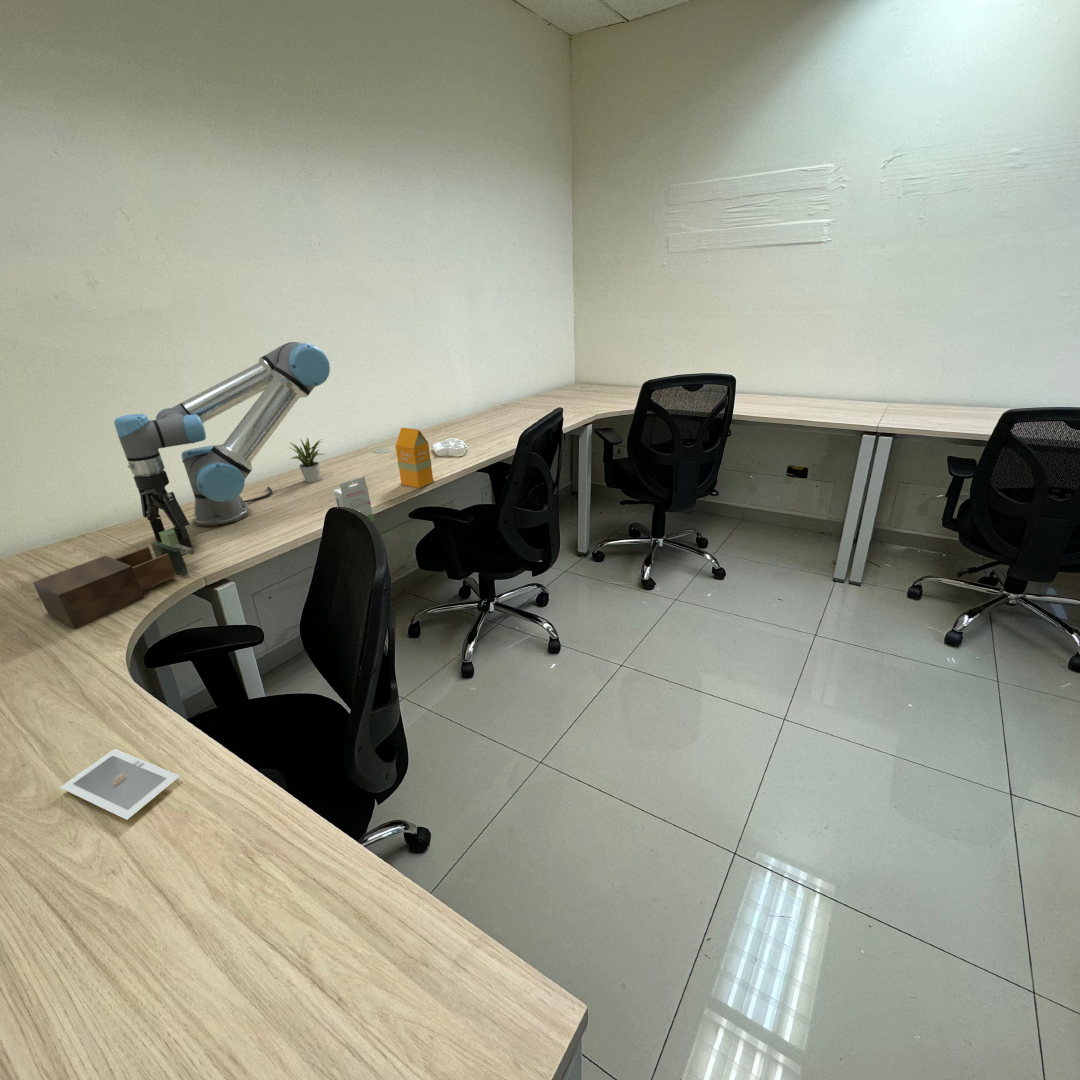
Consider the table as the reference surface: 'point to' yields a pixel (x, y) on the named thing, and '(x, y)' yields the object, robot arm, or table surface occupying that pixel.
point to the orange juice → (413, 458)
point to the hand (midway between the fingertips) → (174, 544)
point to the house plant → (308, 461)
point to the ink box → (354, 496)
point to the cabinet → (89, 591)
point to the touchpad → (120, 783)
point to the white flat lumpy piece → (450, 447)
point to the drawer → (157, 563)
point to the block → (169, 537)
